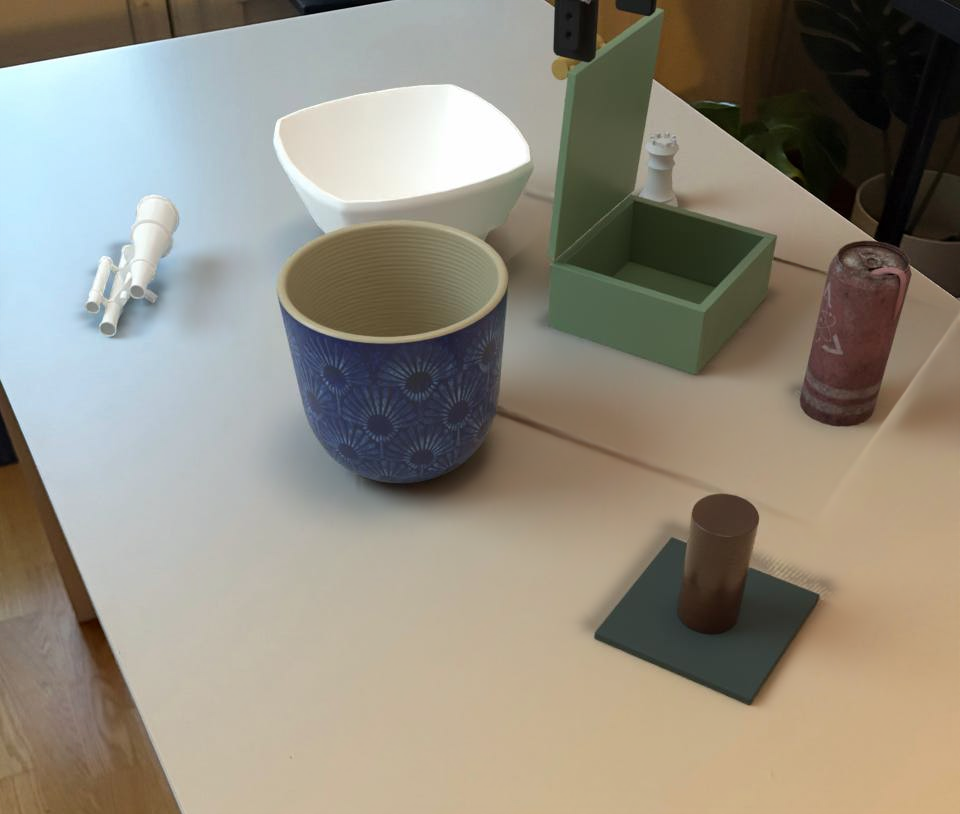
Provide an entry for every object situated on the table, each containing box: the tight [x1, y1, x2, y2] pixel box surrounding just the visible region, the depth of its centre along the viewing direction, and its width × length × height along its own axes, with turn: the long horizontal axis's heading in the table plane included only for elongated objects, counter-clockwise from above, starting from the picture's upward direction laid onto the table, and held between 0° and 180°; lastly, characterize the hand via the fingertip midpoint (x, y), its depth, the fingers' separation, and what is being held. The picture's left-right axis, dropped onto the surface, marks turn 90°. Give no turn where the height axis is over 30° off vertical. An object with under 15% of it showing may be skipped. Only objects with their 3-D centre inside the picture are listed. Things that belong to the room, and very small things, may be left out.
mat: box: [594, 536, 821, 706], centre depth 87 cm, size 12×12×1 cm
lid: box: [546, 7, 665, 261], centre depth 104 cm, size 16×15×5 cm
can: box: [799, 240, 913, 428], centre depth 97 cm, size 6×6×14 cm
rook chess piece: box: [638, 131, 680, 208], centre depth 122 cm, size 4×4×8 cm
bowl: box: [272, 83, 535, 242], centre depth 115 cm, size 22×22×12 cm
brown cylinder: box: [677, 493, 760, 634], centre depth 83 cm, size 4×4×9 cm
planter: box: [276, 220, 509, 484], centre depth 95 cm, size 17×17×15 cm
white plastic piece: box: [84, 194, 181, 338], centre depth 114 cm, size 8×14×5 cm
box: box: [548, 193, 778, 376], centre depth 110 cm, size 15×15×7 cm
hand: (605, 34), depth 91 cm, fingers open, 9 cm apart
